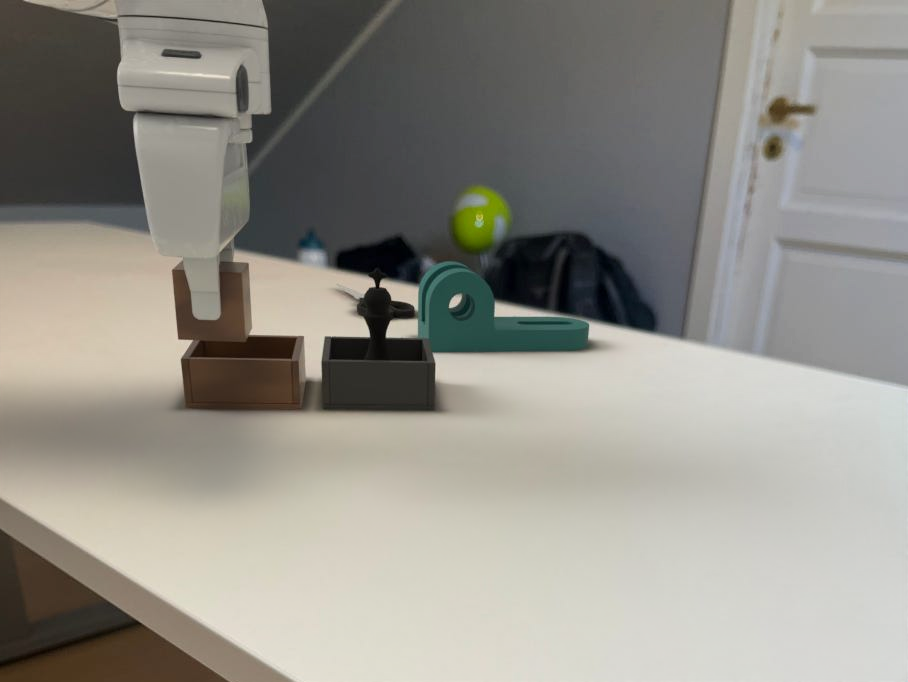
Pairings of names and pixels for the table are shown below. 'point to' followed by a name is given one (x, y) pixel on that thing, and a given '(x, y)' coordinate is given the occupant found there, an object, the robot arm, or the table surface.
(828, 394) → the table surface
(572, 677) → the table surface
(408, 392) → the black bin
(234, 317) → the walnut block
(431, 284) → the bracket
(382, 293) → the chess piece
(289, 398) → the brown bin
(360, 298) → the scissors
